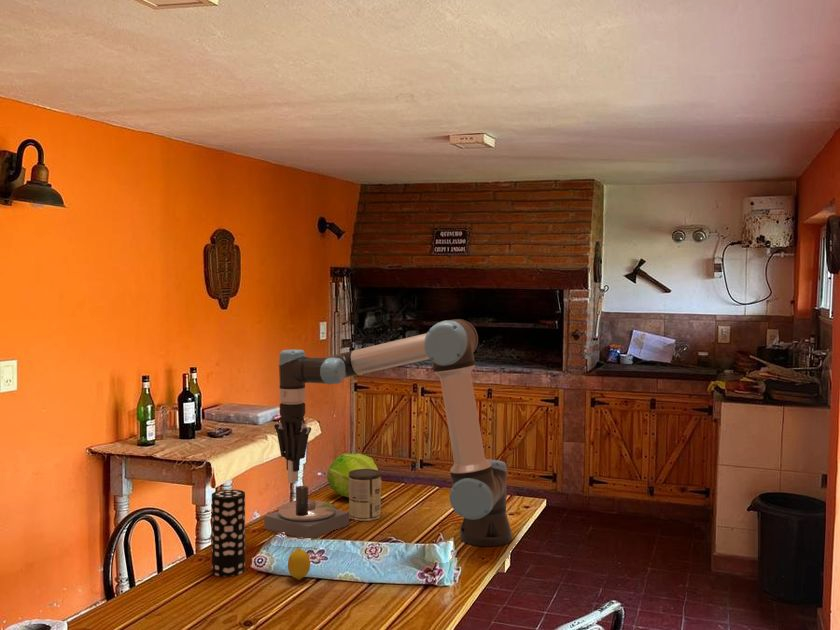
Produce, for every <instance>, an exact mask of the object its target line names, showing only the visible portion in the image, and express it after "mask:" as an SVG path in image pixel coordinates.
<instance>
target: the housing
mask: <svg viewBox="0 0 840 630" xmlns="http://www.w3.org/2000/svg"><path fill="white" fill-rule="evenodd" d="M263 516H264V520H263V521H264V522H263V523H264V526H263V527H264V528H263V529H264V530H267V531H272V532H275V533H279V532H285V533H286V534H287V536H290V537H294V536H295V538H298V537H303V538H314V539H316V538H319V537H321V536H320V535H322V534H324V535H326V534H325V533H327V534H329V533H328V532H330V533H331V531H332V532H334V531H333V530H335V531H337V530H336V529H338V530H340V529H342V527H343V528H345V527H348V526H350V518H349V511H346V510H342V509H341V510H340V509H336V508H335V514H334V515H333V516H332V517H329V518H326V519H323V520H317V521H292V520H287V519H284V518H282V517H280V516H279V510H277V511H274V512H271V513H269V514H265V515H263ZM347 525H348V526H347ZM339 528H340V529H339ZM286 534H285V535H286ZM318 536H319V537H318ZM322 536H323V535H322ZM315 537H316V538H315Z"/></svg>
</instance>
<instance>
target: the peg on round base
mask: <svg viewBox="0 0 840 630" xmlns="http://www.w3.org/2000/svg"><path fill="white" fill-rule="evenodd" d="M335 509H336V506H335V505H334V504H333V503H331V502H328V501H324V500H314V499H310V498H309V486H307V485H299V486H296V487H295V501H291V502H290V501H289V502H287V503H286V502H285V503H284V504H282V505H280V506H279V508H278V511H279V516H280V517H282V518H284V519H287V520H292V521H317V520H323V519H326V518H329V517H332V516H333V515H334V514H335Z"/></svg>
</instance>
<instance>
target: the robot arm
mask: <svg viewBox="0 0 840 630" xmlns="http://www.w3.org/2000/svg"><path fill="white" fill-rule="evenodd" d="M478 344H479V335H478V333H477V330H476V328H475V326H474V325H473V324H472V323H470V322H469V321H467V320H466V319H465V320H464V319H461V318H455V319H449V320H448V319H447V320H442V321H440V322H439V321H438V322H437V323H435V324H434V325H432V327H430V328H429V330H428V331H427V332H425V333H422V334H418V335H414V336H413V335H412V336H410V337H405V338H400V339H395V340H393V341H389V342H384V343H380V344H376V345H371V346H367V347H363V348H359V349H355V350H351V351H350V350H349V351H346V352H341V353H337V354H333V355H327V356H324V357H323V356H322V357H320V356H319V357H318V356H317V357H315V356H314V357H311V356H310V357H308V356H306V352H305V351H304V349H283V350H281V351H280V353H279V359H278V361H279V363H278V367H279V368H278V374H279V375H278V376H279V378H278V379H279V401H280V403H279V416H280V417H281V418H280V420H279V421H280V422H278V423H277V424H274V425H273V426H274V429H275V431H276V434H277V440H278V441H277V442H278V445H279V446H278V447H279V452H280V456H281V458H283V457H284V458H285V460H286V470H287V483H291V484H293V483H297V482H299V471H300V460H302V459H304V458H305V457H306V453H307V447H308V442H309V437H310V436H309V435H310V434H311V431H312V427H311V426H307V425H306V421H305V419H304V418H305V417H304V416H305V415H306V403H305V401H306V384H309V383H310V384H326V385H335V384H336V385H339V384H341V383H342V382H343V380H345V379H346V378H350V377H355V376H359V375H363V374H368V373H372V372H376V371H380V370H387V369H390V368H395V367H399V366H403V365H408V364H412V363H418V362H422V361H427V360H430V361H431V365H432V366H431V367H432V371H433V374H435V375H436V376H437V377H439V380H440V385H441V386H440V387H441V392H442V398H443V404H444V409H445V415H446V422H447V428H448V434H449V440H450V445H451V447H450V448H451V452H452V457H453V462H454V463H453V465H452V467H451V468H450V469H449V472H450V478H451V479H450V480H451V485H452V487H451V488H450V492H449V502H450V503H449V504H450V506H451V507H452V509H453V511H454V512H455V513H456V514H457V515H459V516H460V517H462V518H463V520H462V522H461V525H460V528H459V539H460V540H461V541H462V542H464V543H466V544H469V545H472V546H477V547H499V546H503V545H507V544H509V543H511V542H512V541H513V540H512V539H513V537H512V536H513V535H512V534H513V532H512V527H511V524H510V521H509V518H508V516H507V479H508V478H507V475H508V468H507V464H506V462H505V461H502V460H498V459H492V458H491V459H487V458H486V455H485V449H484V444H483V438H482V433H481V426H480V425H481V424H480V421H479V414H478V408H477V402H476V397H475V391H474V390H475V389H474V385H473V379H472V371H473V369H475V367H476V363H475V356H474V352H475V351H476V350H477V347H478Z"/></svg>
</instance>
